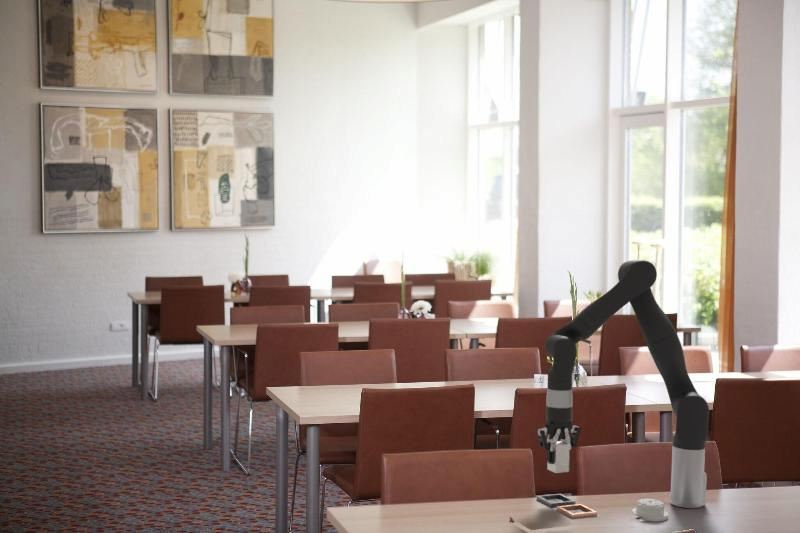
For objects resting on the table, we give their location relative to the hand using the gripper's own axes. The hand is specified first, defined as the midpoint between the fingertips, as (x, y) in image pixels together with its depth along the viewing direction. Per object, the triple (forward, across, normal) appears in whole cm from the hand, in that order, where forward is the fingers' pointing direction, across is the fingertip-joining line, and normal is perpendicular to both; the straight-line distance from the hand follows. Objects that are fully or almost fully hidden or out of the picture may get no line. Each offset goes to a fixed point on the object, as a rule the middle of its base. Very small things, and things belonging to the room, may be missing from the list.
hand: (558, 462), depth 295 cm
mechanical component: (+14, -20, +17) cm, 29 cm away
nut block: (+2, 0, 0) cm, 2 cm away
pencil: (+13, +16, +2) cm, 21 cm away
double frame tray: (+13, 0, +6) cm, 14 cm away
